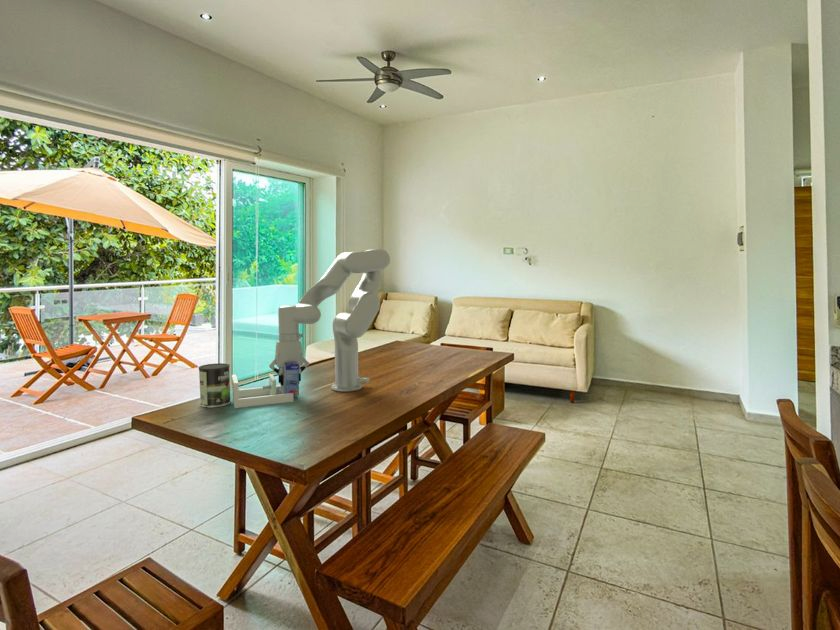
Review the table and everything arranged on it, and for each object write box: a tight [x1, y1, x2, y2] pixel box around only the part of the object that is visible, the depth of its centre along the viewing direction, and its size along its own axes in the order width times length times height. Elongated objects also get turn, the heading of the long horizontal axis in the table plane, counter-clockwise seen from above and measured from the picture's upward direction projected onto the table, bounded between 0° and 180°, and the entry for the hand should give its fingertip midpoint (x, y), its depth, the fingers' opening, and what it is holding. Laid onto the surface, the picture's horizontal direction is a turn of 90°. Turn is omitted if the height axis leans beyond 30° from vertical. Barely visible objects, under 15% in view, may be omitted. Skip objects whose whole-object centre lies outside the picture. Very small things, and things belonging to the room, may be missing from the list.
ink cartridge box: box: [281, 363, 300, 397], centre depth 178 cm, size 10×6×14 cm, turn 27°
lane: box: [231, 374, 294, 409], centre depth 174 cm, size 20×14×9 cm
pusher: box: [262, 373, 277, 395], centre depth 175 cm, size 4×11×8 cm, turn 25°
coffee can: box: [198, 362, 231, 409], centre depth 168 cm, size 10×10×14 cm
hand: (289, 383), depth 178 cm, fingers closed on ink cartridge box, 5 cm apart
